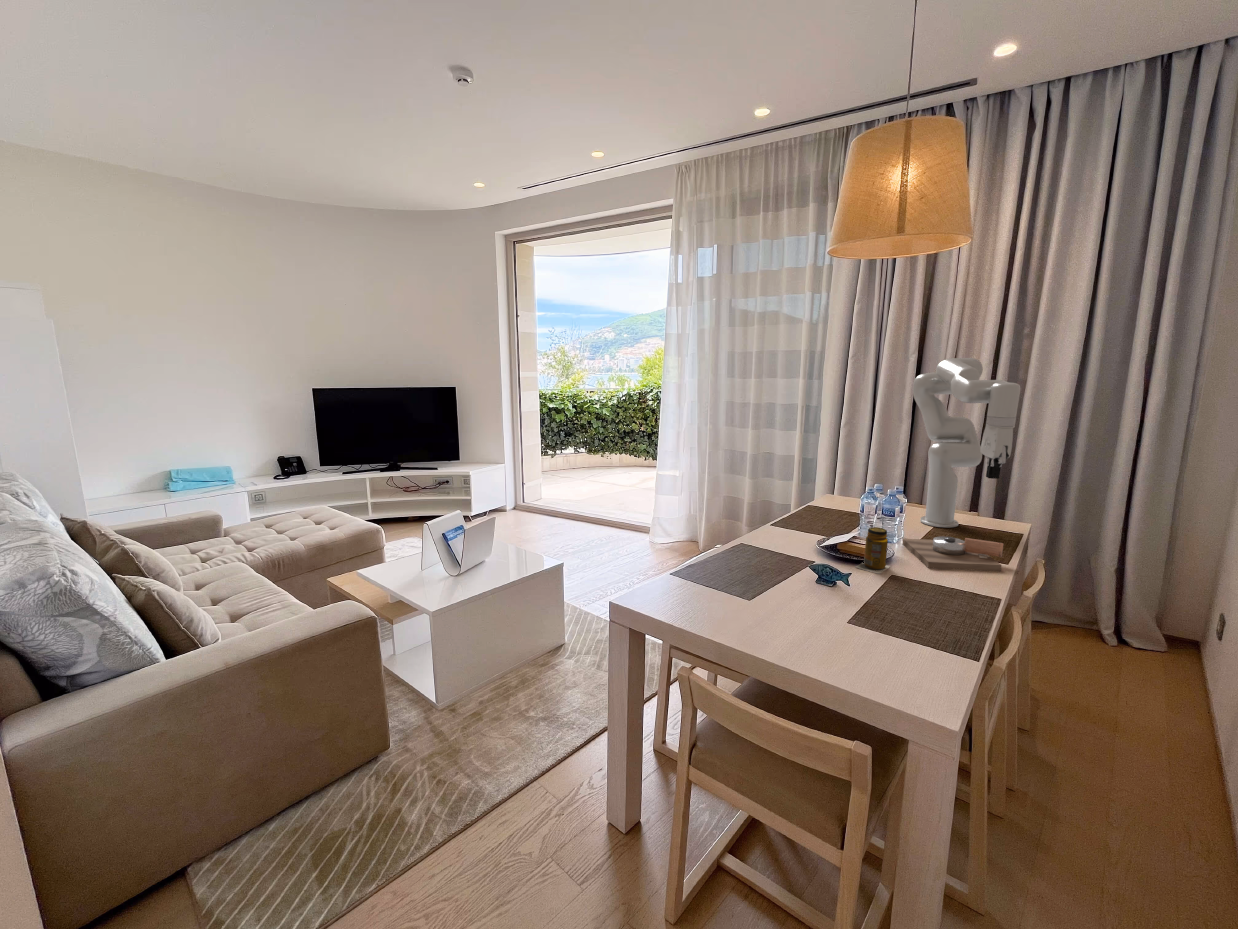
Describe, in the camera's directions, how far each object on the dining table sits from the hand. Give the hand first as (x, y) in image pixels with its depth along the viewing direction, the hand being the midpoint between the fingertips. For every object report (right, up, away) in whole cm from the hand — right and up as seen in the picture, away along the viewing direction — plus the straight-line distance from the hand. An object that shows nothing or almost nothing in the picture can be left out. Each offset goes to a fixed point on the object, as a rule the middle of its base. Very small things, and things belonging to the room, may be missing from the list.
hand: (992, 477), depth 173 cm
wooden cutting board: (-16, -25, -2) cm, 30 cm away
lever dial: (-12, -23, -5) cm, 27 cm away
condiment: (-43, -27, -10) cm, 52 cm away
